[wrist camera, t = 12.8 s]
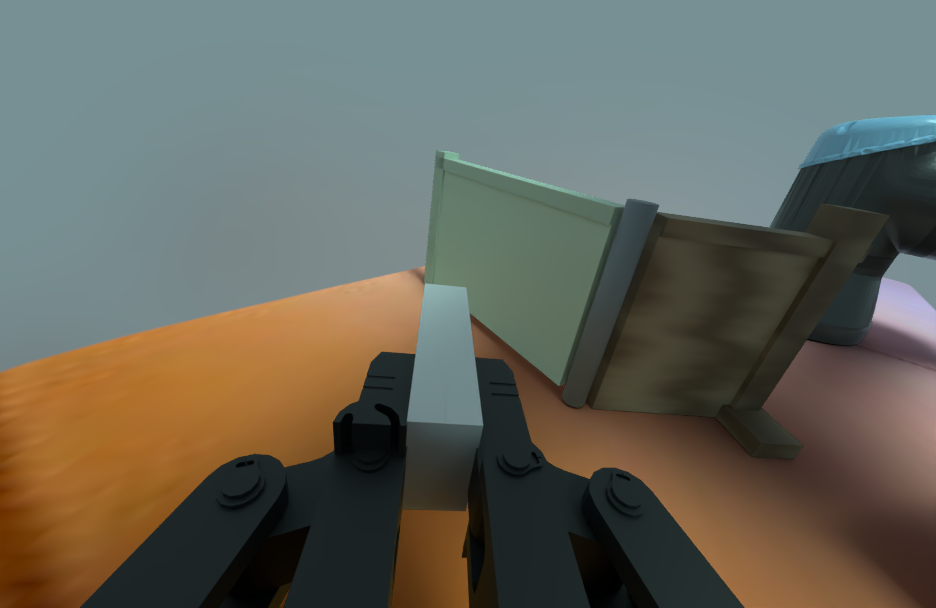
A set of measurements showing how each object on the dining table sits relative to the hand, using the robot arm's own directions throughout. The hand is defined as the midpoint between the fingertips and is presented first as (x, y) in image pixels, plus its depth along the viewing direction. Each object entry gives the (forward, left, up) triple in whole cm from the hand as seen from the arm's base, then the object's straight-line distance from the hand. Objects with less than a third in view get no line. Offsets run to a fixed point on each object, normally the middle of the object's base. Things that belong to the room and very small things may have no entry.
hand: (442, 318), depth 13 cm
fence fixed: (-18, -7, -10) cm, 21 cm away
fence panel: (-5, -16, -9) cm, 19 cm away
